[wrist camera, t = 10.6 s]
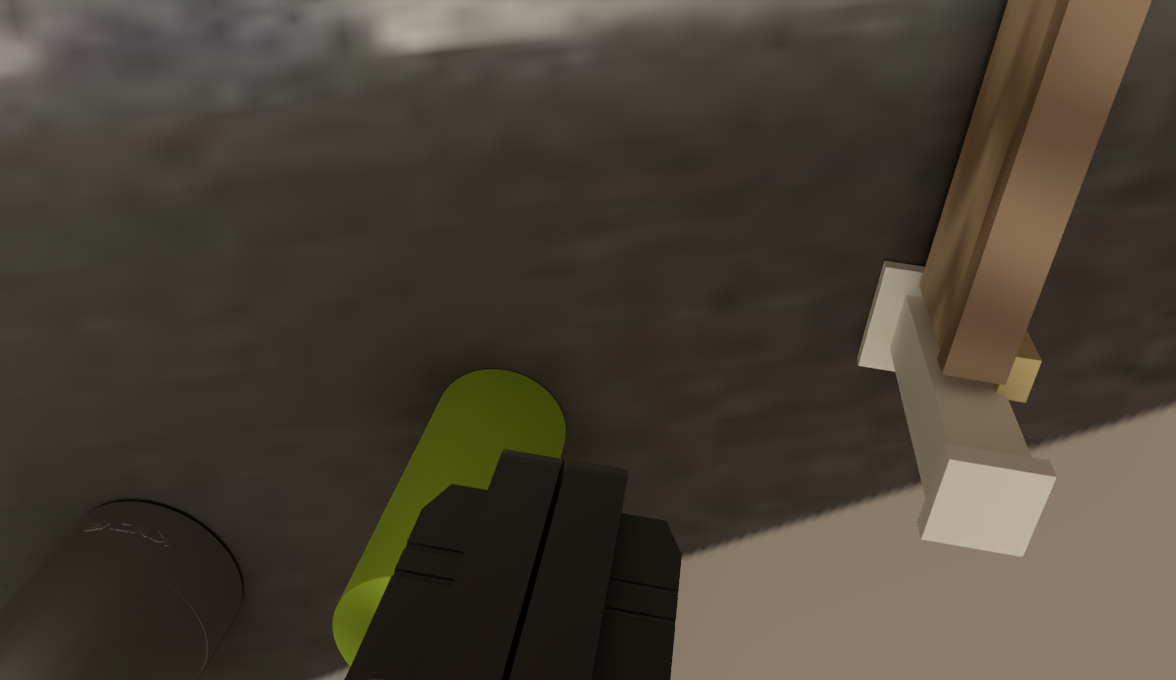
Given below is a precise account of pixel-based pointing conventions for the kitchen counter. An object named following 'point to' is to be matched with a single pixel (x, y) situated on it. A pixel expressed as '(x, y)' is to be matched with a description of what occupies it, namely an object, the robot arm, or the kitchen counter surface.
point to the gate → (1022, 174)
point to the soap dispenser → (449, 475)
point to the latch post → (958, 426)
